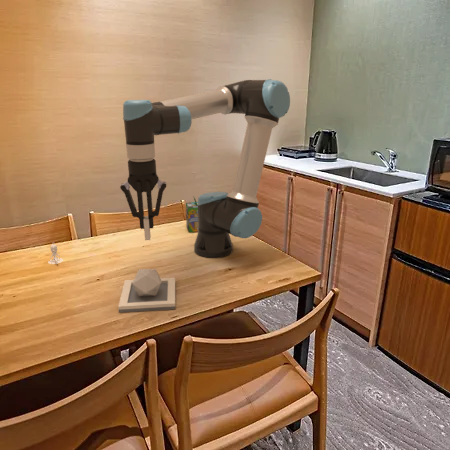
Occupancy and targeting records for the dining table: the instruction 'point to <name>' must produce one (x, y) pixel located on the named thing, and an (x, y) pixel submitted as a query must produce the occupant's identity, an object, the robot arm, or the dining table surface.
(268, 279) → the dining table surface
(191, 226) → the chalk box
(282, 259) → the dining table surface
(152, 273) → the die
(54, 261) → the toy figurine
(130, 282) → the pocket plate
